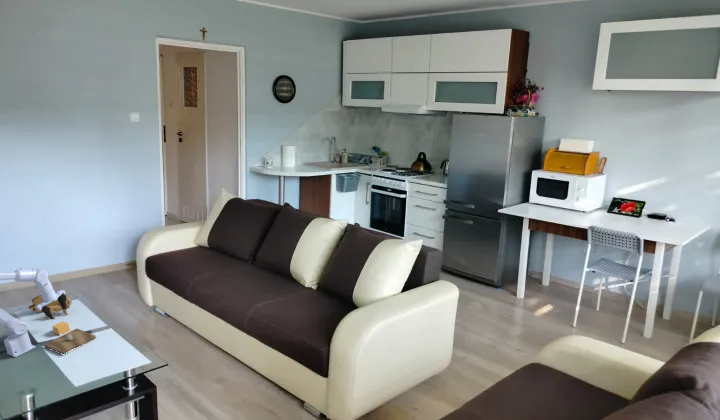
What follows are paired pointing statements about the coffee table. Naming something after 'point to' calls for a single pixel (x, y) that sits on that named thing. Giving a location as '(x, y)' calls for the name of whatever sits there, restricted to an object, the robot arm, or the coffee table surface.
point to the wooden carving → (38, 300)
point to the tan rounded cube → (61, 328)
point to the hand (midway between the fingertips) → (58, 313)
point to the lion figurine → (59, 308)
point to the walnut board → (70, 341)
